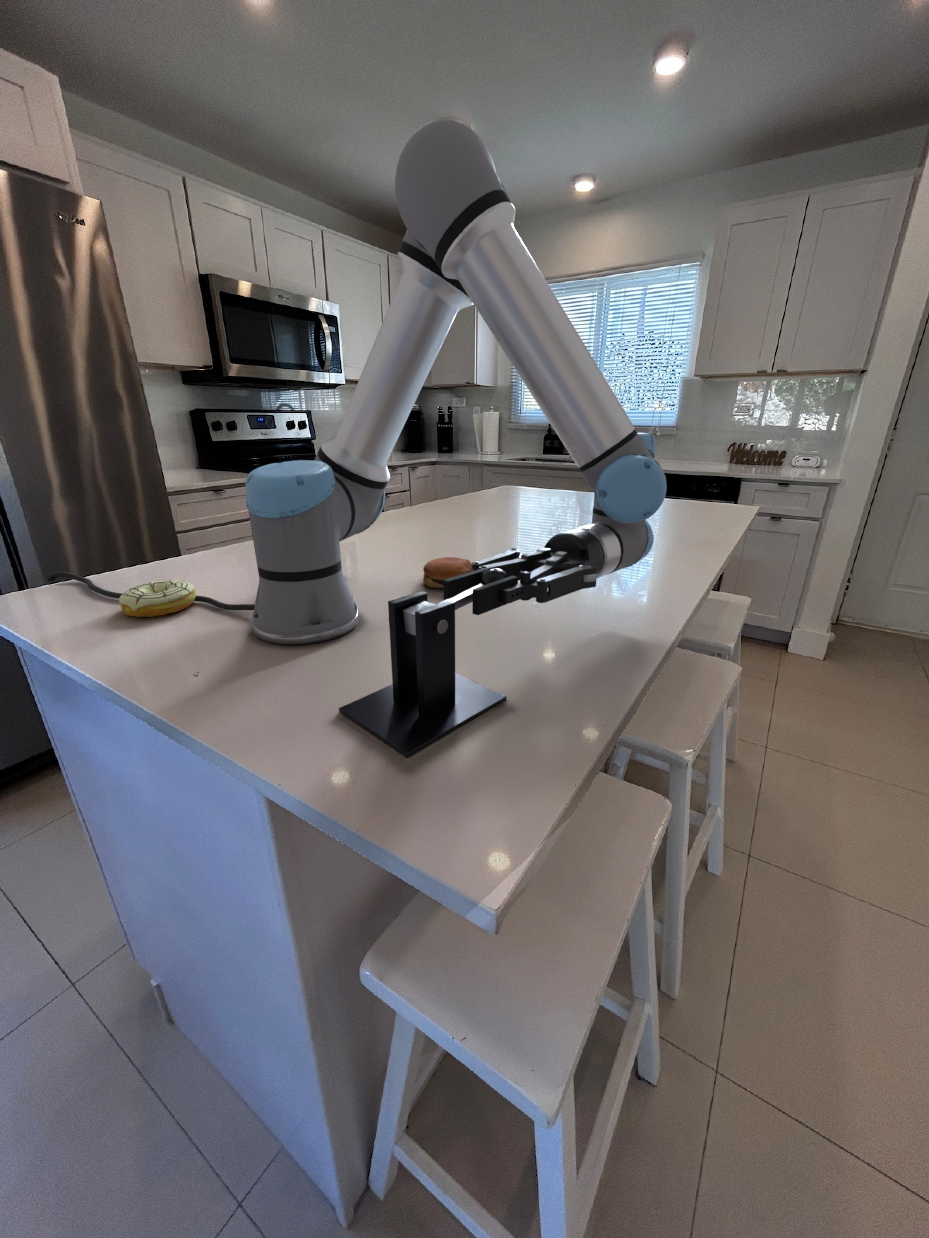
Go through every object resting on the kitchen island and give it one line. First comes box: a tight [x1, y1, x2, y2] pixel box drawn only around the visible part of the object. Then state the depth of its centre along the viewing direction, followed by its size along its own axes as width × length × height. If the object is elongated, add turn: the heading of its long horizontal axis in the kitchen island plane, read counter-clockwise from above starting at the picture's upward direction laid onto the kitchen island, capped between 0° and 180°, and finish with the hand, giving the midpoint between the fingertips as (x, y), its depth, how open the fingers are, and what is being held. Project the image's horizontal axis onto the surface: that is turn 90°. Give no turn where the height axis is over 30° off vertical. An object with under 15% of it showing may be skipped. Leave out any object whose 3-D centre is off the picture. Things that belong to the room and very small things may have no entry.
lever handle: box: [403, 568, 509, 636], centre depth 54 cm, size 14×4×4 cm, turn 136°
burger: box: [422, 556, 472, 589], centre depth 96 cm, size 10×9×5 cm
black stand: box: [338, 590, 507, 759], centre depth 52 cm, size 14×11×13 cm
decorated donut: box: [118, 578, 197, 618], centre depth 83 cm, size 10×11×4 cm
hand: (460, 597), depth 54 cm, fingers closed on lever handle, 4 cm apart
